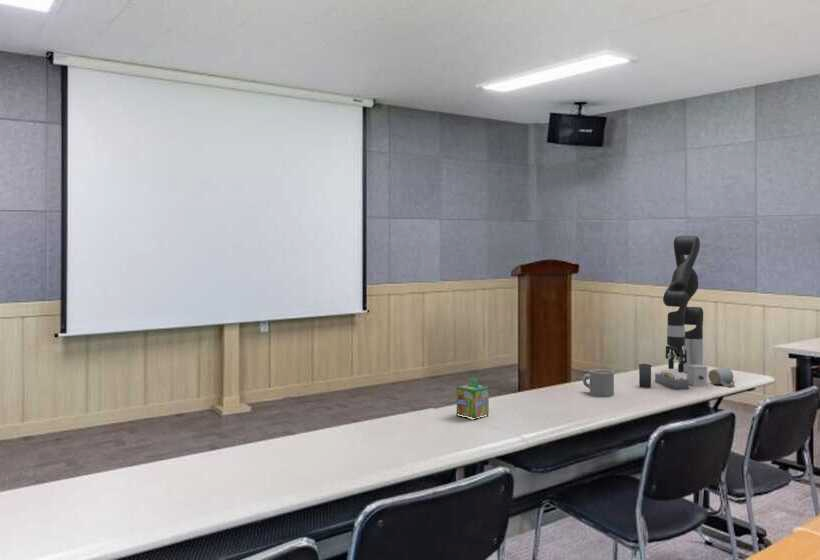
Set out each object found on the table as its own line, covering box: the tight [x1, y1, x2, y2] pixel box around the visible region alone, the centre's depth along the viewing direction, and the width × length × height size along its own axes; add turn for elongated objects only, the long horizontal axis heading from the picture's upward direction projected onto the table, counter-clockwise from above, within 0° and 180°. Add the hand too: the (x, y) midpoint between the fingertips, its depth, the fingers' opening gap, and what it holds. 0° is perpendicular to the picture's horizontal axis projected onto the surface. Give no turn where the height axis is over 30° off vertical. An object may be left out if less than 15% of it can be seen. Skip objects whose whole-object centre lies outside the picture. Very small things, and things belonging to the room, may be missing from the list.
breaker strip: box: [654, 370, 690, 391], centre depth 289 cm, size 17×7×6 cm, turn 6°
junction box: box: [686, 364, 708, 387], centre depth 290 cm, size 7×6×9 cm
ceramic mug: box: [708, 366, 735, 387], centre depth 289 cm, size 11×8×8 cm
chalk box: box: [456, 376, 490, 418], centre depth 241 cm, size 9×9×15 cm
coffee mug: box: [582, 368, 615, 398], centre depth 276 cm, size 13×10×10 cm
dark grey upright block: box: [638, 363, 652, 389], centre depth 287 cm, size 5×5×10 cm
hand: (675, 370), depth 285 cm, fingers open, 8 cm apart
